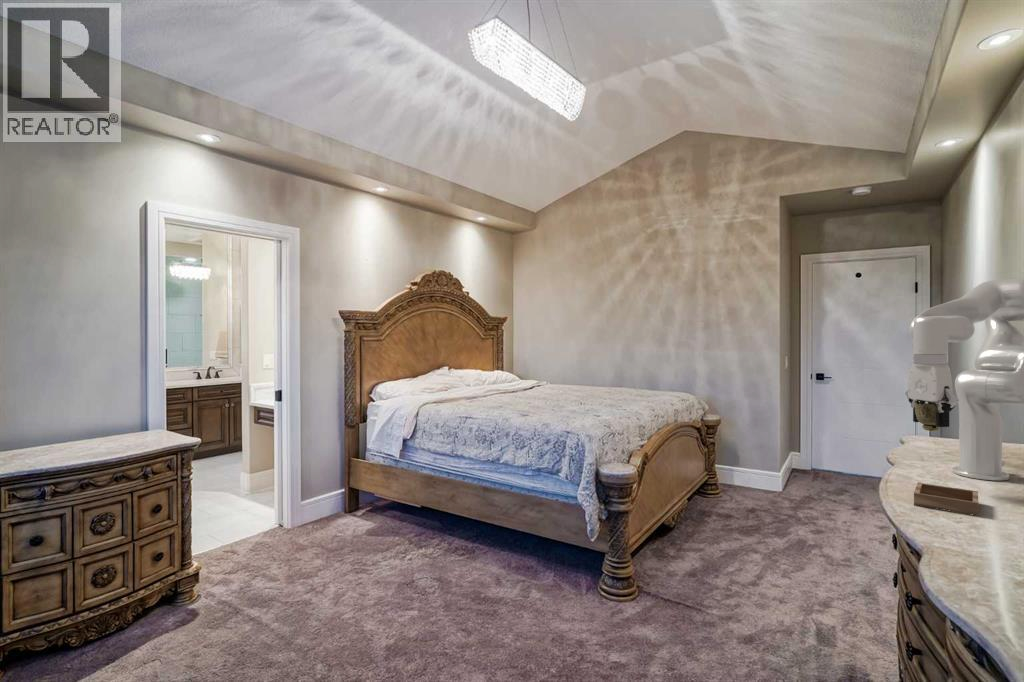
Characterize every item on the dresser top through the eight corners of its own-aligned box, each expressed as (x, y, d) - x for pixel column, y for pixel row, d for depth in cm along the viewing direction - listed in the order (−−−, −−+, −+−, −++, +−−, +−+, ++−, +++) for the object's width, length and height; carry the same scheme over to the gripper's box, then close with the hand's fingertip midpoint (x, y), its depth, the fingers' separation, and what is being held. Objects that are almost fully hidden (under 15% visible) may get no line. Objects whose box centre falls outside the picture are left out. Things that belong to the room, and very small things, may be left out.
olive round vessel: (919, 432, 141) (919, 403, 141) (909, 427, 148) (909, 399, 148) (953, 433, 139) (953, 404, 139) (941, 428, 146) (941, 400, 146)
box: (917, 493, 138) (917, 482, 138) (977, 503, 130) (977, 491, 130) (913, 505, 129) (913, 493, 129) (978, 516, 121) (978, 503, 121)
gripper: (893, 359, 152) (893, 419, 152) (945, 362, 134) (945, 430, 135) (917, 359, 152) (917, 418, 152) (972, 362, 135) (972, 429, 135)
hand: (930, 423), depth 144 cm, fingers closed on olive round vessel, 7 cm apart
